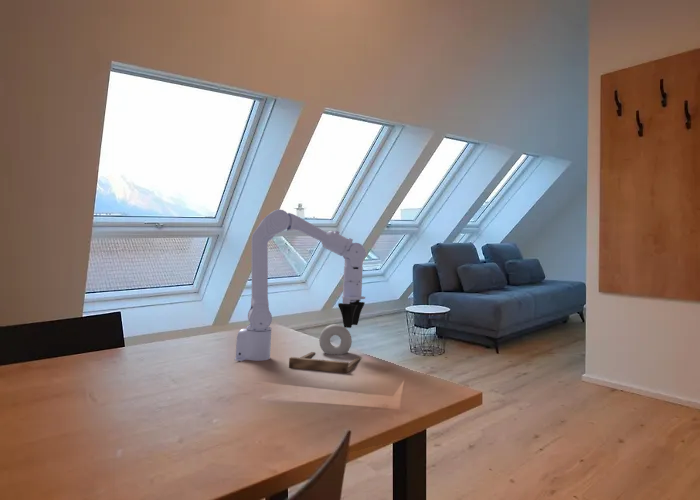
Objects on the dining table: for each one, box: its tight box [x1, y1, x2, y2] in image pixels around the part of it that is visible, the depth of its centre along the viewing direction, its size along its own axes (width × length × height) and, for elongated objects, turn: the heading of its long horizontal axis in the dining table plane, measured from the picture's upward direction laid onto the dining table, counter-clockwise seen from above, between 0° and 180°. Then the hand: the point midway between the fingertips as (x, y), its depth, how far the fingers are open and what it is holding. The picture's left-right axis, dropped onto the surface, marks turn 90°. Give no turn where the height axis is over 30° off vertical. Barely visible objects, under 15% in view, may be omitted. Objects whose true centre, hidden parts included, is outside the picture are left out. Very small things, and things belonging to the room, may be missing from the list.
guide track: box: [288, 351, 363, 374], centre depth 134 cm, size 16×18×2 cm
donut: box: [318, 323, 353, 356], centre depth 145 cm, size 10×4×10 cm, turn 84°
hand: (350, 326), depth 146 cm, fingers open, 7 cm apart
